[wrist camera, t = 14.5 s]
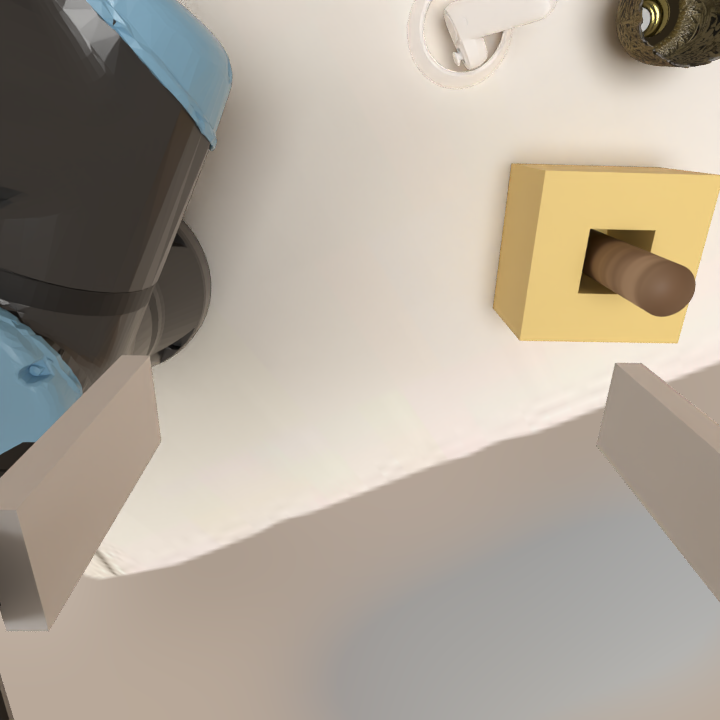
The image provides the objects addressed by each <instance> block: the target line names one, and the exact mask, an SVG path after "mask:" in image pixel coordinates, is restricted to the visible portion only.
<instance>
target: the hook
mask: <svg viewBox="0 0 720 720" xmlns="http://www.w3.org/2000/svg"><path fill="white" fill-rule="evenodd" d="M431 1H432V0H415V1H414V3H413V6H412V8H411V11H410V14H409V20H408V27H407V38H408V44H409V49H410V52H411V55H412V58H413V60H414V62H415V64H416V66H417V67H418V69H419V70H420V71H421V72H422V73H423V75H424V76H425V77H426V78H428V79H429V80H430V81H432V82H433V83H435V84H437V85H439V86H442V87H445V88H450V89H463V88H467V87H471V86H474V85H476V84H478V83H480V82H482V81H483V80H485V79H486V78H487V77H489V76H490V75H491V74H492V73H493V72H494V71H495V70H496V69H497V68H498V66H499V65H500V63H501V62H502V60H503V59H504V57H505V55H506V52H507V50H508V48H509V44H510V40H511V36H512V28H515V27H518V26H522V25H525V24H529V23H532V22H535V21H538V20H541V19H544V18H545V17H547V16H548V15H549V14H550V13H551V12H552V10H553V9H554V7H555V5H556V3H557V0H456V1H453V2H451V3H450V4H449V5H448V7H447V8H446V9H445V10H444V18H445V22H446V25H447V28H448V31H449V33H450V35H451V38H452V40H453V42H454V45H455V47H456V50H457V52H458V54H457V53H456V52H453V58H454V61H455V63H456V64H457V65H458V66H459V65H460V60H461V61H462V63H463V64H464V66H465V67H466V68H467V69H468V70H470V69H474V68H476V69H474V70H470V71H466V72H456V71H452V70H449V69H447V68H444V67H443V66H441V65H440V64H439V63H438V62H437V61H436V60H435V59H434V58H433V57H432V55H431V53H430V52H429V50H428V48H427V45H426V42H425V36H424V21H425V16H426V12H427V10H428V7H429V5H430V3H431ZM501 31H503V34H502V38H501V41H500V43H499V46H498V48H497V49H496V51H495V52H494V54H493V55H492V57H491V58H490V59H489V60H488V61H487V62H486V63H484V61H485V60H486V59H487V48H486V45H485V42H484V39H483V37H484V36H488V35H491V34H494V33H498V32H501ZM483 63H484V64H483ZM482 64H483V65H482ZM480 65H481V66H480ZM479 66H480V67H479ZM477 67H478V68H477Z"/></svg>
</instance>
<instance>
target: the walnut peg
mask: <svg viewBox="0 0 720 720" xmlns="http://www.w3.org/2000/svg"><path fill="white" fill-rule="evenodd" d="M582 273H584V274H585V275H587V276H589V277H590V278H592V279H594V280H595V281H597V282H599V283H600V284H602V285H603V286H605V287H607V288H608V289H610V290H612V291H613V292H615V293H617V294H618V295H620V296H622V297H623V298H625V299H626V300H628V301H630V302H631V303H633V304H635V305H636V306H638V307H640V308H641V309H643V310H645V311H646V312H648V313H649V314H651V315H654V316H658V317H666V316H670V315H673V314H676V313H677V312H679V311H681V310H682V309H683V308H684V307H685V306H686V305H687V304H688V303H689V302H690V300H691V299H692V297H693V294H694V291H695V278H694V275H693V274H692V272H691V271H690V270H689V269H688V268H687V267H685V266H683V265H680V264H678V263H675V262H673V261H670V260H668V259H665V258H663V257H660V256H658V255H656V254H653V253H651V252H648V251H646V250H643V249H641V248H638V247H636V246H633V245H631V244H628V243H626V242H624V241H621V240H619V239H616V238H614V237H611V236H609V235H606V234H604V233H601V232H599V231H596V230H594V229H590V232H589V237H588V243H587V248H586V253H585V258H584V264H583V269H582Z"/></svg>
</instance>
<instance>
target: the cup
mask: <svg viewBox="0 0 720 720" xmlns="http://www.w3.org/2000/svg"><path fill="white" fill-rule="evenodd" d="M642 7H644V8H647V9H648V10H649V12H650V14H651V22H650V25H649V27H648V28H647V29H646V30H645V31H644V32H642V30H641V24H642V23H643V18H642ZM616 28H617V34H618V38H619V40H620V43H621V45H622V46H623V48H624V49H625V51H626V52H627V53H628V54H629V55H630V56H631V57H633V58H634V59H636V60H638V61H640V62H642V63H645V64H649V65H655V66H668V67H684V68H689V66H691V67H695V66H699V65H706V64H709V63H711V62H712V61H715V60H717V59H720V0H620V2H619V6H618V10H617V16H616Z"/></svg>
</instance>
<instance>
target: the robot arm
mask: <svg viewBox="0 0 720 720" xmlns="http://www.w3.org/2000/svg"><path fill="white" fill-rule="evenodd" d="M231 85H232V70H231V65H230V62H229V58H228V55H227V53H226V52H225V50H224V48H223V47H222V45H221V43H220V42H219V41H218V39H217V38H216V37H215V36H214V35H213V34H212V32H211V31H210V30H209V29H208V28H207V27H206V26H205V25H204V24H203V23H202V22H201V21H199V20H198V19H197V18H196V17H195V16H194V15H193V14H192V13H191V12H189V11H188V10H187V9H186V8H185V7H184V6H183V5H181V4H180V3H179V2H178V1H177V0H0V611H1V614H2V618H3V621H4V624H5V627H6V630H7V631H49V630H50V628H51V627H52V625H53V624H54V622H55V620H56V618H57V617H58V615H59V613H60V612H61V610H62V608H63V606H64V605H65V603H66V601H67V600H68V598H69V597H70V595H71V593H72V591H73V590H74V588H75V586H76V585H77V583H78V581H79V580H80V578H81V576H82V575H83V573H84V571H85V569H86V568H87V566H88V564H89V563H90V561H91V559H92V558H93V556H94V554H95V553H96V551H97V549H98V547H99V546H100V544H101V542H102V541H103V539H104V537H105V536H106V534H107V532H108V531H109V529H110V527H111V525H112V524H113V522H114V520H115V519H116V517H117V515H118V514H119V512H120V510H121V509H122V507H123V505H124V503H125V502H126V500H127V498H128V497H129V495H130V493H131V492H132V490H133V488H134V487H135V485H136V483H137V481H138V480H139V478H140V476H141V475H142V473H143V471H144V470H145V468H146V466H147V465H148V463H149V461H150V459H151V458H152V456H153V454H154V453H155V451H156V449H157V448H158V446H159V444H160V443H161V436H160V428H159V421H158V413H157V406H156V398H155V391H154V383H153V376H152V369H151V367H152V366H155V365H157V364H160V363H162V362H164V361H166V360H168V359H169V358H171V357H173V356H174V355H175V354H177V353H178V352H179V351H181V350H182V349H183V348H184V347H185V346H186V345H187V344H188V343H189V341H190V340H191V339H192V338H193V336H194V335H195V334H196V332H197V331H198V329H199V328H200V326H201V324H202V323H203V321H204V319H205V316H206V314H207V311H208V307H209V303H210V296H211V279H210V272H209V267H208V264H207V260H206V257H205V255H204V252H203V250H202V248H201V246H200V244H199V242H198V240H197V239H196V237H195V236H194V234H193V233H192V231H191V230H190V229H189V227H188V226H187V225H186V224H185V223H184V222H183V220H182V218H183V215H184V212H185V210H186V207H187V205H188V202H189V200H190V197H191V195H192V192H193V189H194V187H195V184H196V182H197V179H198V177H199V174H200V172H201V169H202V166H203V164H204V161H205V159H206V156H207V154H208V151H209V150H211V151H213V150H214V149H215V147H216V143H217V139H216V131H217V128H218V125H219V122H220V119H221V116H222V113H223V110H224V107H225V104H226V101H227V98H228V96H229V93H230V89H231ZM596 446H597V447H598V449H599V450H600V451H601V453H602V454H603V455H604V456H605V458H606V459H607V460H608V461H609V463H610V464H611V465H612V466H613V468H614V469H615V470H616V471H617V473H618V474H619V475H620V477H621V478H622V479H623V480H624V481H625V483H626V484H627V485H628V487H629V488H630V489H631V490H632V492H633V493H634V494H635V496H636V497H637V498H638V499H639V501H640V502H641V503H642V504H643V506H644V507H645V508H646V509H647V511H648V512H649V513H650V514H651V516H652V517H653V518H654V520H655V521H656V522H657V523H658V525H659V526H660V527H661V528H662V530H663V531H664V532H665V533H666V535H667V536H668V537H669V538H670V540H671V541H672V542H673V544H674V545H675V546H676V547H677V549H678V550H679V551H680V552H681V554H682V555H683V556H684V558H685V559H686V560H687V561H688V563H689V564H690V565H691V566H692V568H693V569H694V570H695V571H696V573H697V574H698V575H699V576H700V578H701V579H702V580H703V582H704V583H705V584H706V585H707V587H708V588H709V589H710V590H711V592H712V593H713V594H714V595H715V597H716V598H717V599H718V601H719V602H720V425H719V424H718V423H716V422H715V421H714V420H713V419H711V418H710V417H709V416H707V415H706V414H705V413H703V412H702V411H701V410H700V409H699V408H697V407H696V406H695V405H694V404H692V403H691V402H690V401H689V400H687V399H686V398H685V397H683V396H682V395H681V394H680V393H678V392H677V391H676V390H675V389H673V388H672V387H671V386H670V385H668V384H667V383H666V382H665V381H663V380H662V379H661V378H660V377H658V376H657V375H656V374H654V373H653V372H652V371H651V370H649V369H648V368H647V367H646V366H644V365H643V364H642V363H615V366H614V371H613V375H612V379H611V384H610V388H609V393H608V397H607V401H606V406H605V410H604V415H603V419H602V423H601V428H600V432H599V436H598V440H597V445H596ZM0 720H14V718H13V715H12V711H11V708H10V705H9V701H8V698H7V695H6V692H5V688H4V685H3V682H2V678H1V675H0Z"/></svg>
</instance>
